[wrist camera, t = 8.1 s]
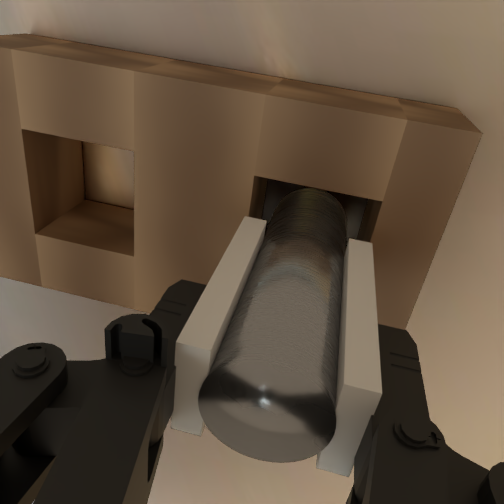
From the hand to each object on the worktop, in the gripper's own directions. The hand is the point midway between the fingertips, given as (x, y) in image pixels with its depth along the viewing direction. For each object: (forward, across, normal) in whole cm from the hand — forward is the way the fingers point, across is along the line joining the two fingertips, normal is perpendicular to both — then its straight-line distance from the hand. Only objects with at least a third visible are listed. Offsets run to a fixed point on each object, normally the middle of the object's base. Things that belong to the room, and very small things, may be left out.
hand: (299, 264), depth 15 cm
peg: (+3, 0, 0) cm, 3 cm away
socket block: (+6, -4, 0) cm, 7 cm away
